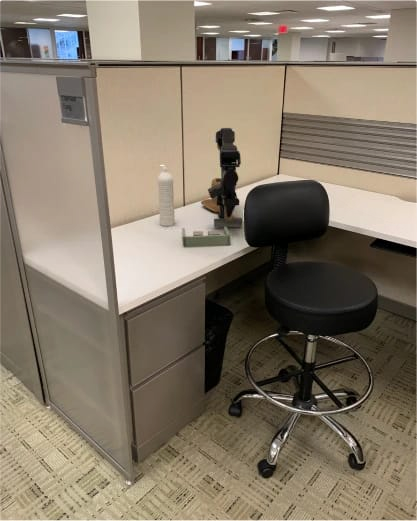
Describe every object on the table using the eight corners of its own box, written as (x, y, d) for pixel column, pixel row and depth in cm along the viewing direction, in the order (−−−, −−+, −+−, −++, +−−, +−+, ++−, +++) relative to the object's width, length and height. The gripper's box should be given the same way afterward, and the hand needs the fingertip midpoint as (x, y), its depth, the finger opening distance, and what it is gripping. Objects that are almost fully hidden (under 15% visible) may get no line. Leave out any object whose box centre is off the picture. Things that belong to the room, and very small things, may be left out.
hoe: (213, 225, 177) (213, 204, 173) (241, 224, 178) (241, 204, 174) (214, 227, 174) (214, 207, 171) (242, 226, 176) (243, 206, 172)
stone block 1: (193, 240, 164) (193, 231, 162) (203, 240, 164) (203, 231, 162) (193, 244, 160) (193, 235, 158) (203, 244, 160) (203, 234, 159)
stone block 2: (207, 240, 164) (207, 231, 162) (217, 239, 165) (217, 230, 163) (209, 244, 160) (209, 234, 159) (219, 243, 161) (219, 233, 159)
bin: (182, 237, 167) (182, 228, 165) (226, 235, 168) (226, 226, 167) (183, 247, 158) (183, 237, 156) (230, 245, 159) (230, 235, 158)
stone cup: (235, 211, 197) (236, 180, 191) (213, 215, 192) (213, 183, 186) (221, 203, 210) (221, 174, 203) (200, 206, 205) (199, 176, 198)
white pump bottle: (176, 225, 180) (174, 168, 169) (161, 227, 178) (158, 169, 167) (171, 219, 187) (169, 164, 176) (157, 220, 185) (154, 165, 175)
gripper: (206, 174, 175) (206, 209, 182) (211, 185, 159) (211, 223, 165) (232, 173, 177) (231, 208, 183) (240, 184, 160) (239, 222, 166)
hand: (228, 215), depth 174 cm, fingers closed on hoe, 3 cm apart
